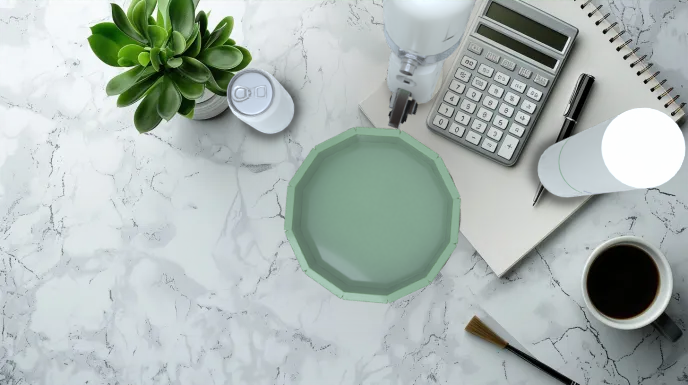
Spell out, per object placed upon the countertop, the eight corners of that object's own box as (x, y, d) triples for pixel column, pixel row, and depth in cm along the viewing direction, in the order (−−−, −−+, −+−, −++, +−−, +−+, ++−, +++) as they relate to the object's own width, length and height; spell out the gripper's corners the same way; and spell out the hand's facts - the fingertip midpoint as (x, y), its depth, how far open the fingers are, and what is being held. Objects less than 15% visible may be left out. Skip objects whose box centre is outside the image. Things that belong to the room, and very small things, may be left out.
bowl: (410, 109, 57) (412, 98, 52) (481, 252, 56) (490, 256, 51) (269, 178, 58) (257, 174, 53) (336, 320, 57) (330, 331, 52)
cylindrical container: (588, 201, 79) (678, 194, 54) (532, 192, 79) (595, 180, 54) (597, 147, 79) (691, 114, 54) (541, 138, 80) (608, 101, 55)
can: (246, 88, 83) (221, 67, 71) (293, 84, 82) (276, 62, 71) (249, 136, 83) (224, 122, 71) (296, 132, 82) (280, 118, 70)
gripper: (432, 123, 56) (422, 148, 73) (494, -55, 56) (470, 12, 73) (354, 97, 56) (362, 128, 73) (416, -78, 57) (410, -7, 74)
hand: (416, 70), depth 73 cm, fingers open, 9 cm apart
